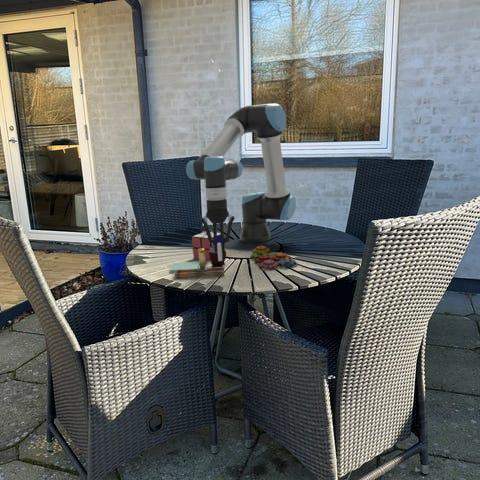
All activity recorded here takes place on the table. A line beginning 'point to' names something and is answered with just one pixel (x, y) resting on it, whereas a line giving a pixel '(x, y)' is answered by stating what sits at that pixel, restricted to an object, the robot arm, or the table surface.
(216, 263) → the mate gourd
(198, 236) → the puzzle cube
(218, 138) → the robot arm
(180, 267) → the pad
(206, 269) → the small yellow bottle
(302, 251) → the table surface
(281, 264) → the gear puzzle
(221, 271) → the index rail
